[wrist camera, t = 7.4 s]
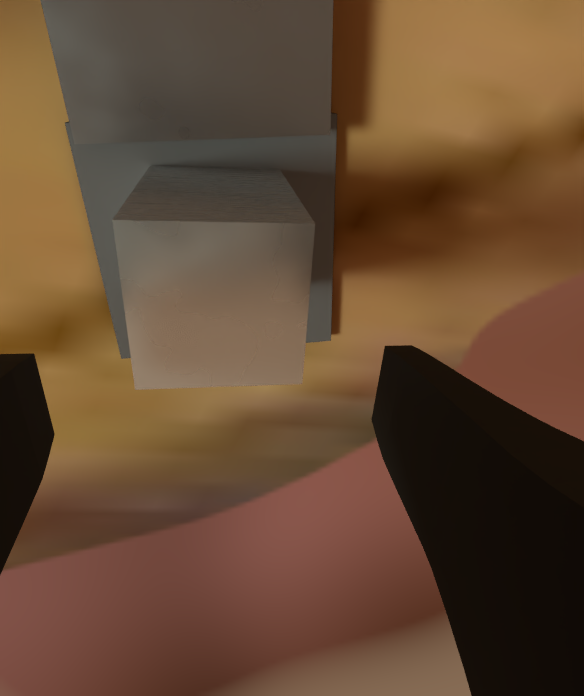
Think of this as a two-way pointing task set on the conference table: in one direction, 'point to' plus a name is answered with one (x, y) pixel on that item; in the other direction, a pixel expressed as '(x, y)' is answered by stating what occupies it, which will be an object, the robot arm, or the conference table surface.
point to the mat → (252, 153)
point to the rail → (192, 68)
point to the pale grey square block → (214, 277)
